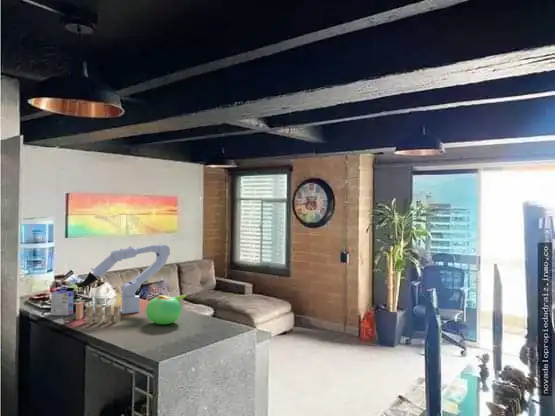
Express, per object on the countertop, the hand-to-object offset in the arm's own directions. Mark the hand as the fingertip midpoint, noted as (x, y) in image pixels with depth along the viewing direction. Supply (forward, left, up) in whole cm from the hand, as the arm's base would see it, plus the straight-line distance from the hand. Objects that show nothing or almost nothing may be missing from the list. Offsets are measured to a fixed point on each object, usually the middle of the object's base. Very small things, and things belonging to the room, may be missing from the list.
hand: (83, 285), depth 222 cm
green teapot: (-36, +32, -17) cm, 51 cm away
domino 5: (-15, +17, -17) cm, 28 cm away
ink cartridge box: (+10, -11, -17) cm, 23 cm away
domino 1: (+2, +2, -17) cm, 17 cm away
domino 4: (-11, +15, -17) cm, 25 cm away
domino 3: (-7, +14, -17) cm, 23 cm away
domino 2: (-2, +12, -17) cm, 21 cm away
